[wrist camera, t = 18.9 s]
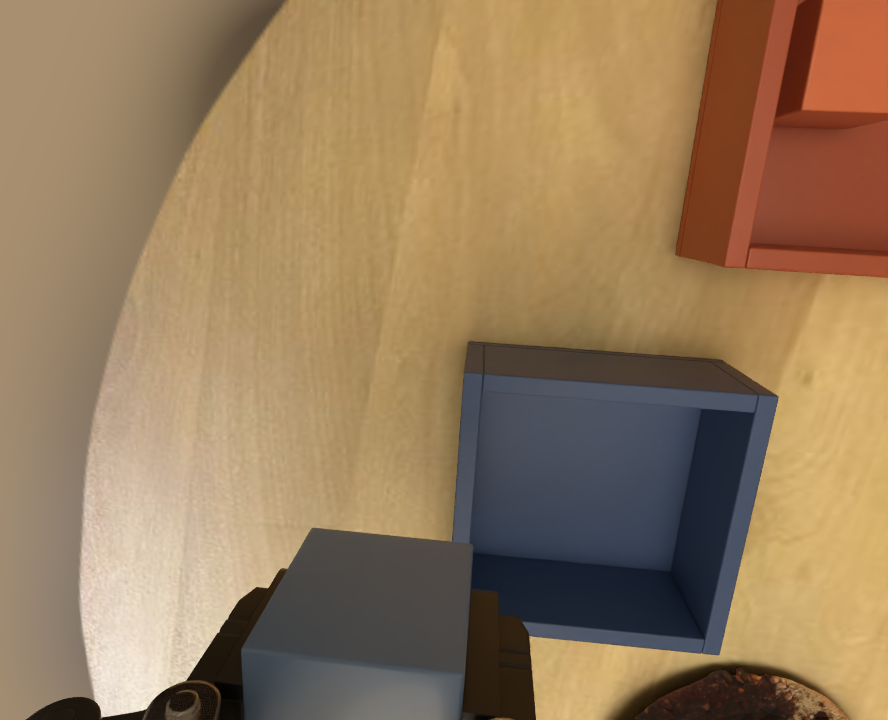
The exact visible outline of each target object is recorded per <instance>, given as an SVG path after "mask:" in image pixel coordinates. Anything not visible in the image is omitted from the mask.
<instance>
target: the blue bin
mask: <svg viewBox="0 0 888 720" xmlns="http://www.w3.org/2000/svg"><path fill="white" fill-rule="evenodd" d="M777 403H778V396H777V395H775V394H774V393H772V392H771V391H769V390H768V389H766V388H764V387H763V386H761V385H760V384H758V383H757V382H755V381H753V380H752V379H750V378H749V377H747V376H746V375H744V374H743V373H741V372H739V371H738V370H736V369H735V368H733V367H732V366H730V365H728V364H727V363H726V362H724V361H723V360H716V359H702V358H688V357H675V356H661V355H647V354H634V353H620V352H606V351H592V350H579V349H565V348H551V347H538V346H524V345H510V344H496V343H483V342H468V346H467V354H466V361H465V369H464V379H463V393H462V407H461V422H460V436H459V450H458V464H457V479H456V493H455V507H454V521H453V536H452V542H458V543H468V544H472V545H473V561H472V576H471V589H477V590H486V591H496V592H499V614H501V615H510V616H519V617H520V619H521V621H522V622H523V624H524V626H525V627H526V629H527V631H528V632H529V636H532V637H542V638H552V639H562V640H572V641H582V642H592V643H601V644H611V645H621V646H631V647H641V648H651V649H661V650H670V651H680V652H690V653H703V654H711V655H719V654H720V650H721V646H722V641H723V637H724V633H725V628H726V624H727V620H728V615H729V611H730V607H731V602H732V598H733V594H734V589H735V585H736V580H737V576H738V572H739V567H740V563H741V559H742V554H743V550H744V546H745V541H746V537H747V533H748V528H749V524H750V520H751V515H752V511H753V507H754V502H755V498H756V494H757V489H758V485H759V481H760V476H761V472H762V468H763V463H764V459H765V455H766V450H767V446H768V442H769V437H770V433H771V429H772V424H773V420H774V416H775V411H776V407H777Z"/></svg>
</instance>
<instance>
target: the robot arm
mask: <svg viewBox="0 0 888 720" xmlns="http://www.w3.org/2000/svg"><path fill="white" fill-rule="evenodd" d="M287 570H288V569H284V568H282V569H280V570H279V572H278V573H277V575H276V577H275V578H274V580H273V582H272V583H271V585H270V587H269V588H259V587H256V588H255V589H253V590H252V591H251V592H250V593H248V594H247V595H246V596H244V597H243V598H242V599H240V600H239V601H238V603H237V604H236V606H235V607H234V609H233V611H232V612H231V614H230V615H229V618H228V620H226V621H225V623H224V624H223V626H222V627H221V629H220V632H219V633H217V635H216V636H215V638H214V639H213V641H212V642H211V644H210V645H209V647H208V648H207V650H206V652H205V653H204V655H203V656H202V658H201V659H200V661H199V662H198V664H197V665H196V667H195V668H194V670H193V671H192V673H191V674H190V676H189V677H188V679H187V680H186V681H185V682H182V683H178V684H176V685H173V686H171V687H170V688H168V689H166V690H165V691H163V692H162V693H160V694H159V695H158V696H157V697H156V698H155V699H154V700H153V701H152V702H151V704H150V705H149V706H148V708H147V709H146V710H143V711H139V712H134V713H128V714H121V715H115V716H109V717H103V718H101V711H100V707H99V706H98V704H97V703H96V702H95V701H93V700H91V699H89V698H84V697H73V698H67V699H63V700H60V701H57V702H54V703H52V704H50V705H48V706H46V707H44V708H42V709H40V710H39V711H37V712H36V713H34V714H33V715H32V716H30V717H29V718H28V719H26V720H244V703H243V681H242V659H241V649H242V647H243V645H244V643H245V642H246V640H247V638H248V637H249V635H250V633H251V631H252V630H253V628H254V626H255V625H256V623H257V621H258V619H259V618H260V616H261V614H262V613H263V611H264V609H265V607H266V606H267V604H268V602H269V601H270V599H271V597H272V595H273V594H274V592H275V590H276V589H277V587H278V585H279V583H280V582H281V580H282V578H283V577H284V575H285V573H286V571H287ZM531 667H532V665H531V655H530V641H529V632H528V631H527V629H526V627H525V626H524V624H523V622H522V621H521V619H520V617H519V616H510V615H501V614H499V592H496V591H486V590H477V589H471V592H470V607H469V623H468V638H467V653H466V669H465V683H464V695H463V707H462V719H461V720H536V715H535V702H534V690H533V678H532V670H531Z"/></svg>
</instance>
